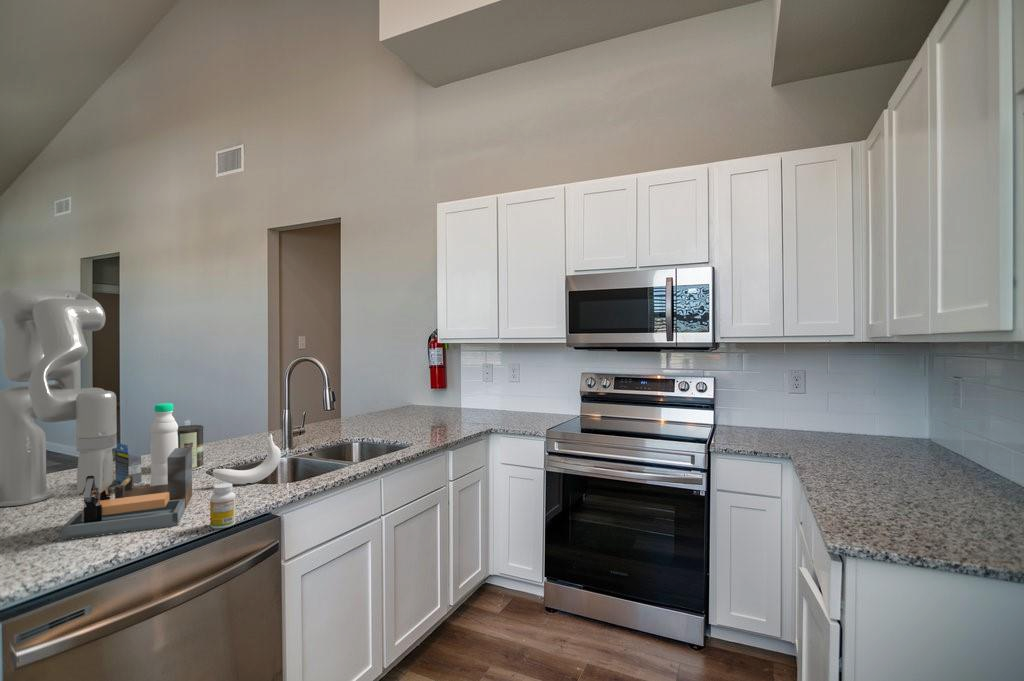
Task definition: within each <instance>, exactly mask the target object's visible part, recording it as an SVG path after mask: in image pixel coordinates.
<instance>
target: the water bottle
mask: <svg viewBox="0 0 1024 681" xmlns="http://www.w3.org/2000/svg"><path fill="white" fill-rule="evenodd" d="M154 412H155V415H156V416H155V418H154V419H153V422H152V424H151V426H150V428H149V430H150V434H151V435H150V450H149V451H150V462H151V463H150V486H156V485H165V484H168V466H167V458H168V456H169V455H170V454H171V453H172V452H173V450H174V449H175V448H178V433H177V430H178V426H179V425H178V423H177V421H176V419H175V417H174V416H173V412H174V404H173V403H171V402H163V403H156V404H155V406H154Z"/></svg>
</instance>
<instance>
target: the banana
mask: <svg viewBox="0 0 1024 681" xmlns="http://www.w3.org/2000/svg"><path fill="white" fill-rule="evenodd" d="M265 441H266V442H267V444H268V446H269V447H268V452H267V453H266V454H267V455H266V456H265V459H264V460H263V461H262V462H261V463H259V464H258V465H257V466H255V467H253V468H250V469H244V470H241V469H240V470H237V469H232V468H215V469H213V471H212V476H213V477H215V478H216V479H218V480H220V481H223V482H224V483H231V484H232V485H247V484H246V483H251V484H255V483H258V482H260V481H262V480H264V479H266V478H268V477H269V476H270V475H271V474H272V473H273V472H274V471H275V470H276V469H277V467H278V465H279V464H280V461H281V456H282V450H280V448H279V447H278V446H277V445H276V444H275V443H274V441H273V435H272V433H271V432H270V433H269V434H268V436H267V438H266V439H265Z"/></svg>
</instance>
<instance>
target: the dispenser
mask: <svg viewBox="0 0 1024 681" xmlns="http://www.w3.org/2000/svg"><path fill="white" fill-rule="evenodd" d="M167 466H168V484H165V485H156V486H151V485H148V486H147V485H145V486H137V487H134V484H133V476H126V477H125V480H124V481H123V482H122V483H120V484H117V485H116V486H115V487H114V498H113V499H117V498H125V497H133V496H141V495H149V494H157V493H165V492H169V500H178V499H185V510H186V509H187V507H188V505H189V503H190V501H191V499H192V497H193V471H192V447H185V448H175V449H174V450H173V452H172V453H171V454H170V455H169V456H168V458H167Z"/></svg>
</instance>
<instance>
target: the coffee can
mask: <svg viewBox="0 0 1024 681" xmlns="http://www.w3.org/2000/svg"><path fill="white" fill-rule="evenodd" d="M177 433H178V448H185V447H192V470H194V471H197V470H196V469H198V470H200V469H199V468H201V469H203V468H204V466H205V465H204V425H201V424H200V425H199V424H192V425H190V424H188V425H178V430H177ZM202 467H203V468H202Z"/></svg>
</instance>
